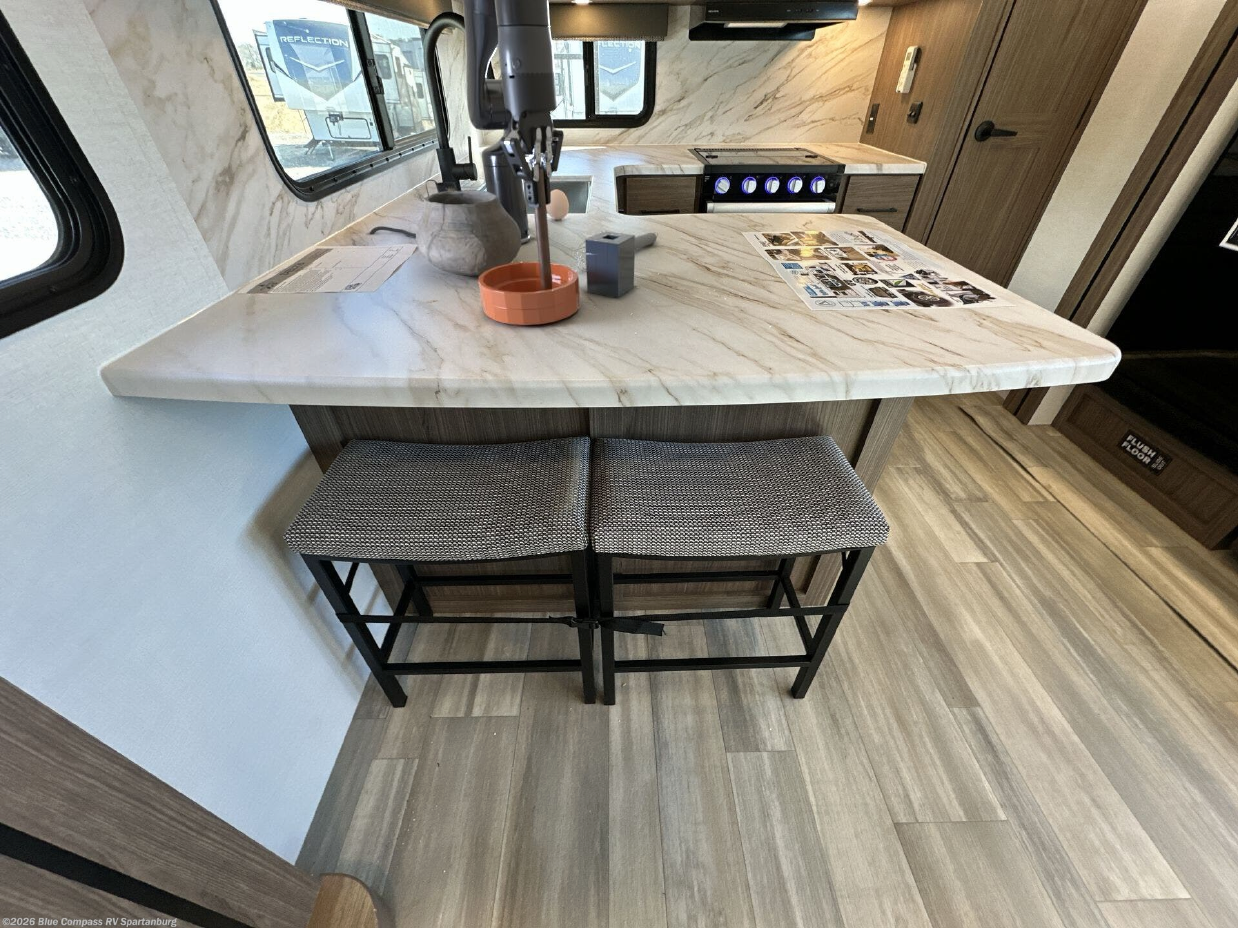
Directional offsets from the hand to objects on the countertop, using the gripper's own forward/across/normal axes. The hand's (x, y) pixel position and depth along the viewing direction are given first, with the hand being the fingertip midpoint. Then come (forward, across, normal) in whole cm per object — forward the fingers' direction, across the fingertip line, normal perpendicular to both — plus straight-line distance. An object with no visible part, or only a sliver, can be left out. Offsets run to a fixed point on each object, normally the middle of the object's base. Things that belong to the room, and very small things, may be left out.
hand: (539, 205), depth 81 cm
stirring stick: (+15, 0, 0) cm, 15 cm away
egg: (+18, -61, -38) cm, 74 cm away
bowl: (+18, 0, -4) cm, 18 cm away
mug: (+18, -38, -59) cm, 72 cm away
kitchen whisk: (+18, -36, -4) cm, 41 cm away
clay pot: (+18, -12, -28) cm, 35 cm away
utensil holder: (+18, -16, +4) cm, 24 cm away
